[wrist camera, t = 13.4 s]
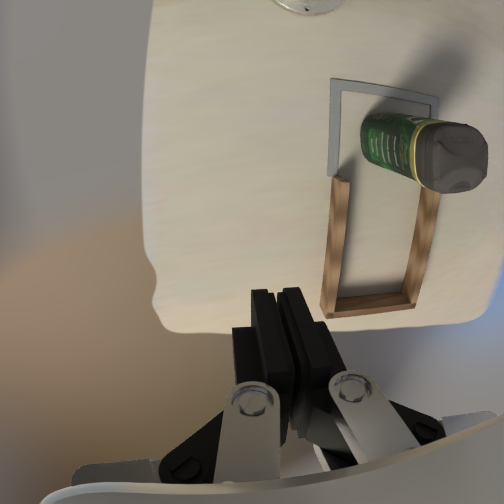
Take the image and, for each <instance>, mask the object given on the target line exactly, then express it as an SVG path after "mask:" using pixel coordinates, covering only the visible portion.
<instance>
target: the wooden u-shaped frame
mask: <svg viewBox="0 0 504 504" xmlns="http://www.w3.org/2000/svg"><path fill="white" fill-rule="evenodd" d="M349 188H350V182H348V181H347V180H345V179H343V178H342V177H340V176H337V177H334V176H332V187H331V201H330V213H329V225H328V236H327V246H326V256H325V265H324V274H323V283H322V291H321V299H320V307H321V309H322V311H323V313H324V316H325V318H326V319H331V318H341V317H351V316H359V315H368V314H376V313H384V312H392V311H399V310H406V309H413V308H415V306H416V303H417V299H418V296H419V292H420V288H421V285H422V281H423V277H424V273H425V269H426V265H427V261H428V256H429V252H430V247H431V243H432V238H433V233H434V228H435V223H436V218H437V212H438V206H439V200H440V194H441V193H439V192H436V191H433V190H430V189H428V188H425V187H423V186H421V193H420V200H419V207H418V213H417V219H416V225H415V230H414V236H413V241H412V246H411V251H410V256H409V261H408V265H407V270H406V274H405V278H404V283H403V287H402V291H401V292H396V293H386V294H377V295H367V296H356V297H345V298H336V297H337V291H338V284H339V277H340V270H341V262H342V254H343V246H344V238H345V229H346V220H347V210H348V200H349Z"/></svg>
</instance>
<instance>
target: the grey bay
mask: <svg viewBox="0 0 504 504" xmlns="http://www.w3.org/2000/svg"><path fill="white" fill-rule="evenodd" d="M341 90H343V91H352V92H360V93H367V94H374V95H381V96H387V97H393V98H399V99H404V100H409V101H414V102H419V103H424V104H429V105H431V111H430V119H436V120H438V104H439V98H437V97H433V96H429V95H425V94H420V93H416V92H411V91H406V90H401V89H396V88H391V87H385V86H379V85H373V84H367V83H360V82H352V81H345V80H336V79H330V121H329V148H328V168H327V176H334V177H337V171H338V154H339V133H340V102H341Z"/></svg>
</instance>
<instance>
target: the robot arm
mask: <svg viewBox="0 0 504 504" xmlns="http://www.w3.org/2000/svg"><path fill="white" fill-rule="evenodd" d="M273 1H274V2H275V3H276V4H278V5H280V6H281V7H283V8H284V9H287V10H289V11H291V12H294V13H298V14H302V15H322V14H326V13H329V12H331V11H333V10H334V9H336V8H338V7H339V6H340V5H341V4H342V3H343V2H344V1H345V0H273ZM305 9H307V10H308V11H306V10H305ZM232 339H233V355H234V369H235V370H234V371H235V383H236V386H234V387H233V388H232V389H231V390H230V391H229V392H228V394H227V397H226V399H225V407H224V410H223V411H222V412H221V413H220V414H218V415H217V416H216V417H215V418H213V419H212V420H211V421H210V422H208V423H207V424H206V425H205V426H203V427H202V428H201V429H200V430H198V431H197V432H196V433H195V434H193V435H192V436H191V437H189V438H188V439H187V440H185V441H184V442H183V443H182V444H180V445H179V446H178V447H176V448H175V449H174V450H172V451H171V452H170V453H168V454H167V455H166V456H165V457H164V458H163V459H161V460H154V461H151V460H150V458H147V459H139V460H131V461H122V462H112V463H97V464H87V465H83V466H81V467H80V468H78V469H76V471H75V472H74V474H73V475H72V480H71V487H67V488H64V489H61V490H58V491H55V492H53V493H51V494H49V495H48V496H47V497H45V498H44V499H43V501H42V502H41V503H40V504H504V414H502V415H499V416H497V415H496V414H495V413H492V412H490V411H482V412H476V413H469V414H463V415H456V416H448V417H441V418H440V420H439V421H437V420H436V419H434V418H433V417H431V416H428V415H425V414H422V413H420V412H417V411H415V410H412V409H410V408H407V407H405V406H403V405H400V404H398V403H395V402H393V401H390V400H388V399H387V398H386V396H385V395H384V393H383V392H382V391H381V389H380V388H379V387H378V385H377V384H376V382H375V381H374V380H373V379H372V378H371V377H370V376H368V375H367V374H365V373H362V372H359V371H352V370H349V371H347V369H346V367H345V365H344V363H343V361H342V358H341V356H340V354H339V352H338V350H337V347H336V345H335V343H334V341H333V338H332V336H331V334H330V332H329V330H328V328H327V325H326V324H325V322H323V321H319V322H314V320H313V318H312V316H311V313H310V311H309V308H308V306H307V304H306V301H305V299H304V297H303V294H302V292H301V290H300V288H299V287H292V288H283V292H278V293H277V303H276V299H275V296H274V293H268V290H267V289H257V290H251V327H237V328H232ZM288 422H290V427H291V430H297V433H298V436H299V438H305V439H306V440H308V441H309V442H311V443H313V444H314V445H313V447H314V451H315V453H316V455H317V457H318V459H319V461H320V463H321V466H322V467H323V470H324V472H322V473H316V474H310V475H304V476H298V477H291V478H283V479H280V447H281V446H282V445H283V444H284V443H285V440H286V435H287V429H288Z"/></svg>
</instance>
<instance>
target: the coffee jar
mask: <svg viewBox="0 0 504 504" xmlns="http://www.w3.org/2000/svg"><path fill="white" fill-rule="evenodd" d="M360 137H361V148H362V152H363V155H364V157H365V158H366V159H367V160H368V161H369V162H371V163H373V164H375V165H378V166H380V167H383V168H386V169H389V170H391V171H394V172H397V173H399V174H401V175H404V176H406V177H408V178H411V179H413V180H415V181H417V182H418V183H419V184H420V185H422V186H423V187H425V188H428V189H430V190H433V191H436V192H439V193H443V194H447V193H459V192H465V191H469V190H472V189H474V188H476V187H477V186H478V185H479V184H480V183H481V182H482V181H483V179H484V178H486V176H487V167H488V144H487V142H486V141H485V139H484V137H483V135H482V134H481V133H480V132H479V131H478V130H477V129H476V128H474V127H472V126H469V125H467V124H461V123H456V122H449V121H442V120H436V119H430V118H423V117H416V116H410V115H403V114H393V113H392V114H391V113H386V114H376V115H372V116H369V117H367V118H366V119H365V120H364V122H363V123H362V126H361V131H360Z"/></svg>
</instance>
